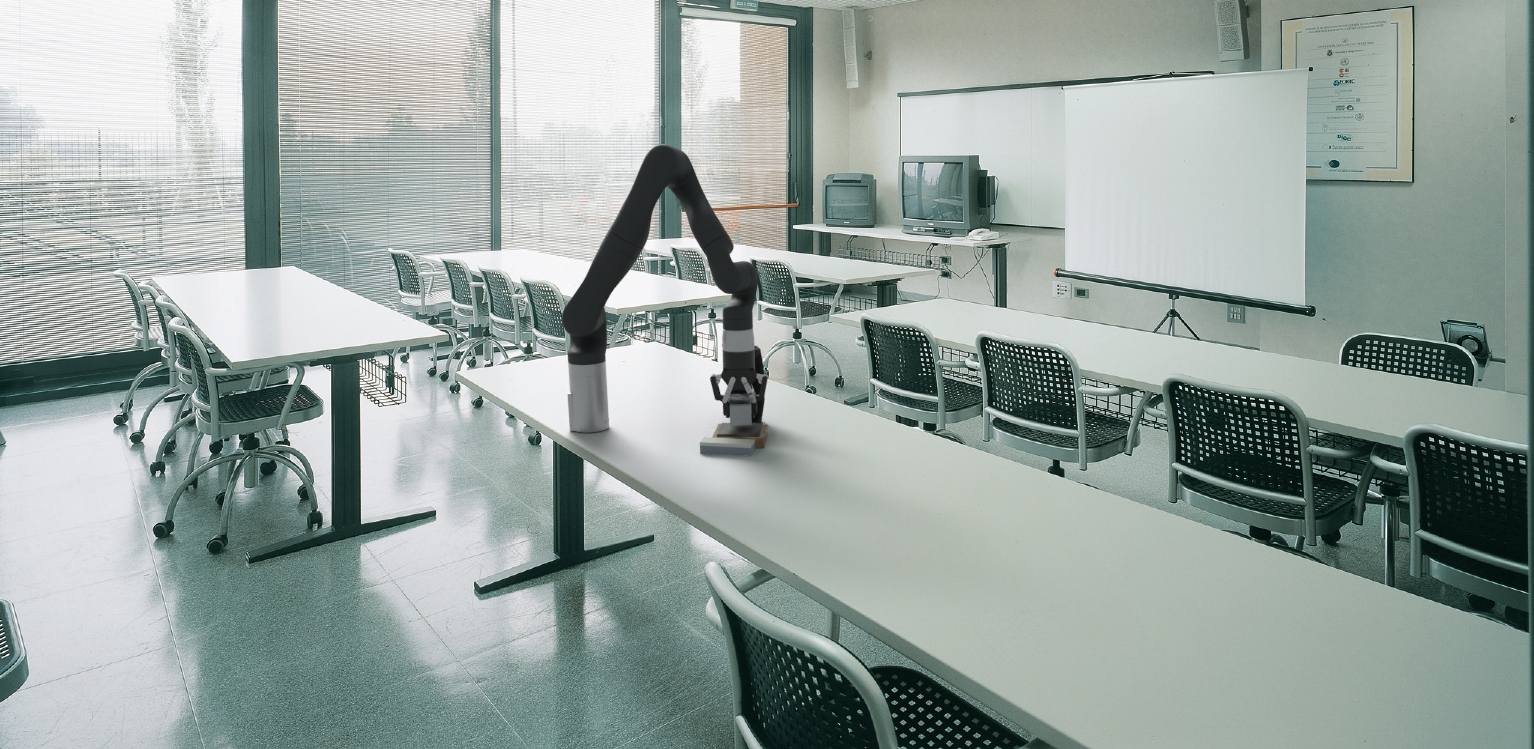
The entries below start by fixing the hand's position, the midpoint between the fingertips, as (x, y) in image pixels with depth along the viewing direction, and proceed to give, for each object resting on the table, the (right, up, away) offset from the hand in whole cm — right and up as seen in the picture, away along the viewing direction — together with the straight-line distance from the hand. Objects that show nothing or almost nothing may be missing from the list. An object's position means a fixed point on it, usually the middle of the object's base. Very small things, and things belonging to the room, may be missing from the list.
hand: (740, 416), depth 227 cm
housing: (0, -1, 0) cm, 1 cm away
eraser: (-3, -8, -7) cm, 11 cm away
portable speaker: (+1, -2, +17) cm, 17 cm away
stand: (0, -6, +1) cm, 6 cm away
